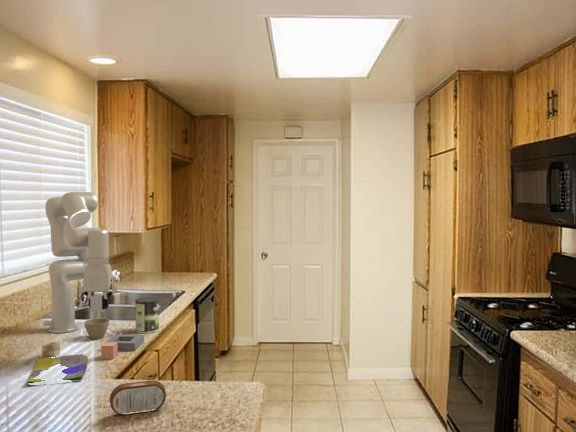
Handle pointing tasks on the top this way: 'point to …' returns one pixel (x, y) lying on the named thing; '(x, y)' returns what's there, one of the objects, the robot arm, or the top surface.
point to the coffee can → (147, 315)
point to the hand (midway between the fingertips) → (98, 308)
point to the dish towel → (73, 362)
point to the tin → (137, 396)
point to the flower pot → (96, 327)
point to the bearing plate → (127, 342)
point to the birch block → (50, 349)
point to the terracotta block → (109, 350)
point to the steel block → (96, 303)
